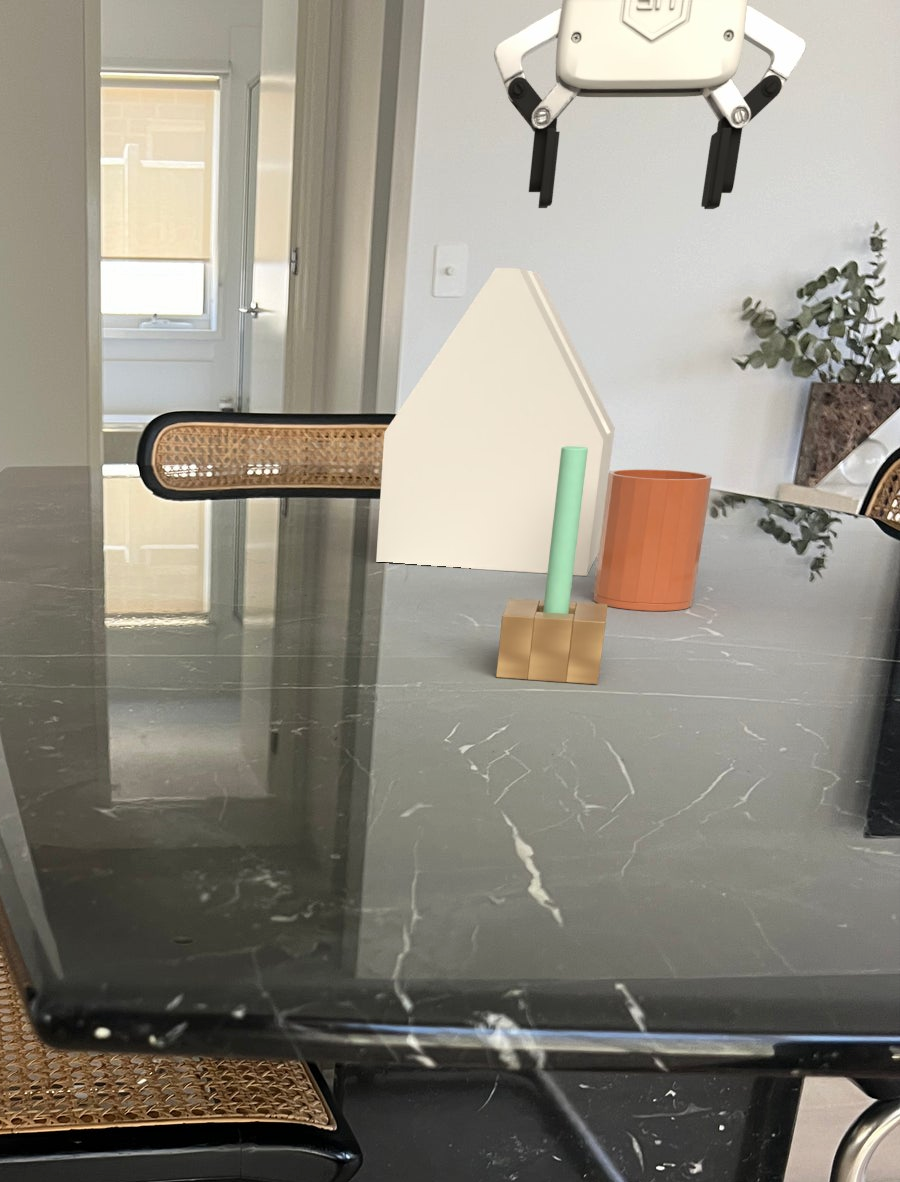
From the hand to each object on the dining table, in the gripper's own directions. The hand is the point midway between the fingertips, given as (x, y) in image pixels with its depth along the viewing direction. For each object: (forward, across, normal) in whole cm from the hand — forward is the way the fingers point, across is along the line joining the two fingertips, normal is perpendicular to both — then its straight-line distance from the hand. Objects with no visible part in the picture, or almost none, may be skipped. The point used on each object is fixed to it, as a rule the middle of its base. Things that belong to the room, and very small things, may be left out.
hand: (626, 207), depth 88 cm
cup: (+28, +7, +25) cm, 38 cm away
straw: (+28, -1, -3) cm, 28 cm away
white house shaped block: (+28, -5, +46) cm, 54 cm away
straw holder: (+28, -1, -3) cm, 28 cm away
